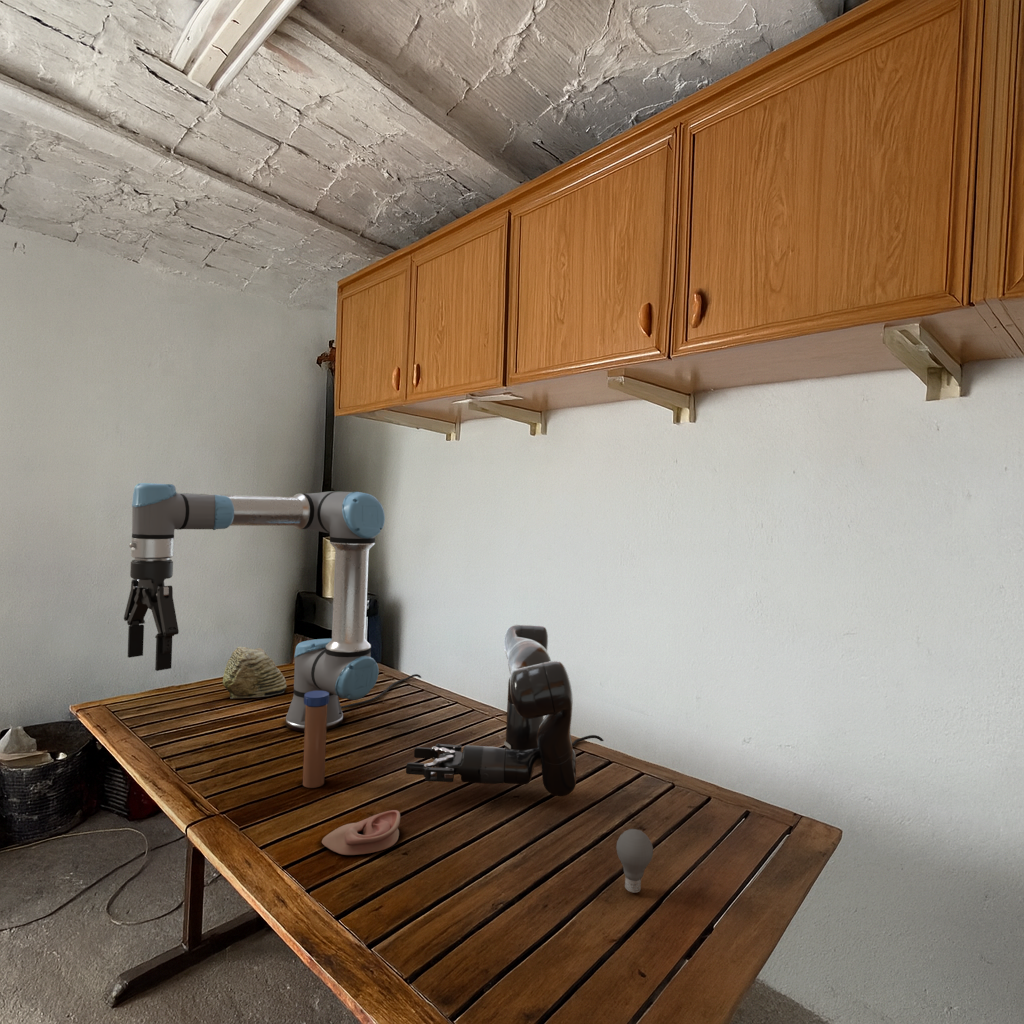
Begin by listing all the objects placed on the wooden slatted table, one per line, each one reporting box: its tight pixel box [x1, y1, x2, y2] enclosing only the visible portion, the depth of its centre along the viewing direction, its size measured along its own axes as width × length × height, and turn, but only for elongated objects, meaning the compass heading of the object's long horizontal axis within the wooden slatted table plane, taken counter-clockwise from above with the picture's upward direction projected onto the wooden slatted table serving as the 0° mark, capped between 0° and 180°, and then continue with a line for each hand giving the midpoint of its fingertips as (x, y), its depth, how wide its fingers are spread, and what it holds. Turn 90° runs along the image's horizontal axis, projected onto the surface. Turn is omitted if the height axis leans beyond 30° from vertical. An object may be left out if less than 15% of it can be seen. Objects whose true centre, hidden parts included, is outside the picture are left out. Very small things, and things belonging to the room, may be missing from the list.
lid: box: [304, 691, 330, 707], centre depth 139 cm, size 5×5×2 cm
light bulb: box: [615, 828, 654, 894], centre depth 106 cm, size 6×6×10 cm
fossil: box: [222, 646, 288, 699], centre depth 198 cm, size 9×18×15 cm, turn 132°
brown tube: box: [302, 705, 327, 789], centre depth 140 cm, size 5×5×19 cm
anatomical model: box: [321, 809, 401, 856], centre depth 118 cm, size 13×4×12 cm
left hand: (148, 662), depth 129 cm, fingers open, 13 cm apart
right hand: (410, 760), depth 139 cm, fingers open, 8 cm apart
